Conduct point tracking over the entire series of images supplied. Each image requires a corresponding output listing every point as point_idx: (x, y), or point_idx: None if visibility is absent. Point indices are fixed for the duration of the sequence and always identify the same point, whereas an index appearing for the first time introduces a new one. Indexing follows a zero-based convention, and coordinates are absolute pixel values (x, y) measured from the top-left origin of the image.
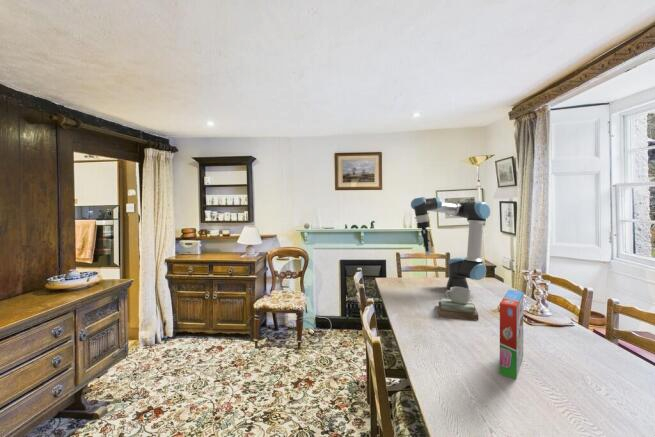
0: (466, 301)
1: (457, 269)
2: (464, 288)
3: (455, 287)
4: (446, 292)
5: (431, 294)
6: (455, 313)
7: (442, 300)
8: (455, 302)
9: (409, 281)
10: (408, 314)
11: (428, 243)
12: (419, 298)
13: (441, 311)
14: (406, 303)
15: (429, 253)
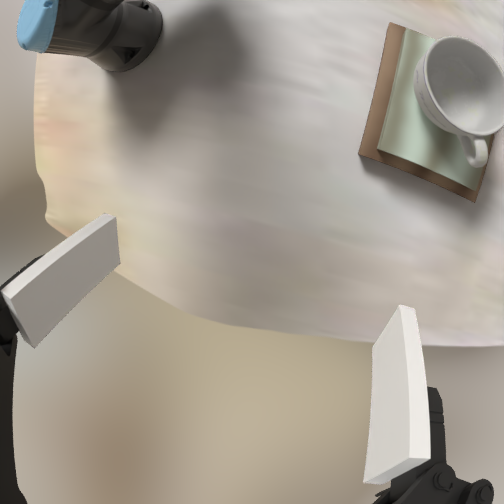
0: (482, 83)
1: (96, 11)
2: (437, 44)
3: (428, 83)
4: (482, 165)
5: (197, 140)
6: (490, 146)
7: (420, 159)
8: (463, 121)
9: (65, 197)
10: (432, 298)
11: (29, 291)
12: (254, 205)
13: (477, 194)
14: (319, 275)
15: (416, 346)
